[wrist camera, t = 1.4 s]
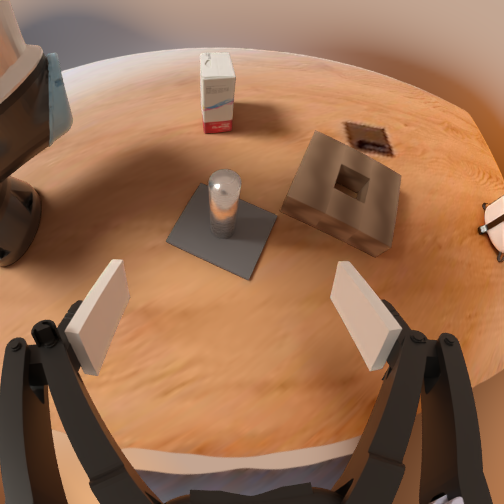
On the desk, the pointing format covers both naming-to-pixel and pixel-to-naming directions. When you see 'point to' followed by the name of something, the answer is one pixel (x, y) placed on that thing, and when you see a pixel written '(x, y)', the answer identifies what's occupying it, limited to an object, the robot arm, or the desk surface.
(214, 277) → the desk surface
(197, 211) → the rubber mat
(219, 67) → the ink box
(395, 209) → the hole block
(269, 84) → the desk surface
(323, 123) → the desk surface
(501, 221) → the coffee press
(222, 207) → the silver rounded cylinder
